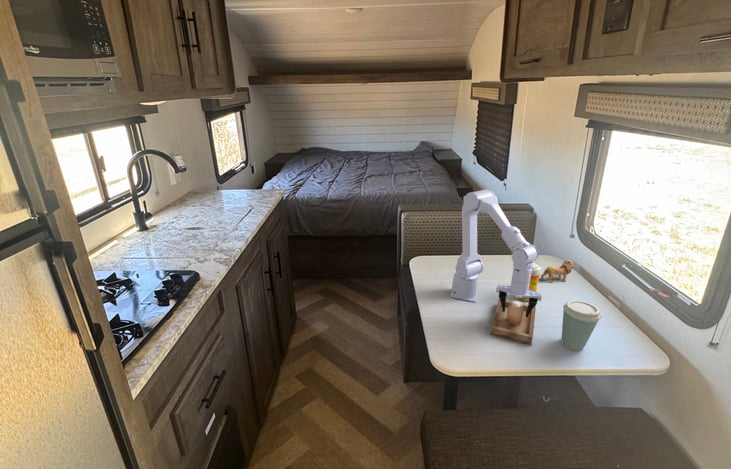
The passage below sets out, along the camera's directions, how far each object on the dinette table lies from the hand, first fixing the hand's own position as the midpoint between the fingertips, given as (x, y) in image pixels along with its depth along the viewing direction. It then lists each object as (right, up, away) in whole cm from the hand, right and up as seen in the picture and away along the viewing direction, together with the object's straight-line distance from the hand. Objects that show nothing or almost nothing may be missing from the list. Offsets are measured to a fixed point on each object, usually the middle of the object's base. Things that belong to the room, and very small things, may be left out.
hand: (515, 313), depth 132 cm
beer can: (+11, +2, +17) cm, 21 cm away
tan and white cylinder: (0, -3, +1) cm, 3 cm away
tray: (0, -4, +2) cm, 4 cm away
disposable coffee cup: (+15, -9, -9) cm, 20 cm away
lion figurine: (+30, +8, +31) cm, 43 cm away
